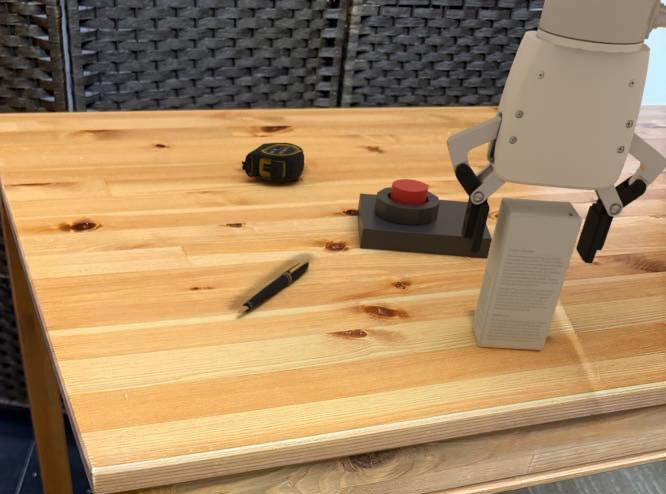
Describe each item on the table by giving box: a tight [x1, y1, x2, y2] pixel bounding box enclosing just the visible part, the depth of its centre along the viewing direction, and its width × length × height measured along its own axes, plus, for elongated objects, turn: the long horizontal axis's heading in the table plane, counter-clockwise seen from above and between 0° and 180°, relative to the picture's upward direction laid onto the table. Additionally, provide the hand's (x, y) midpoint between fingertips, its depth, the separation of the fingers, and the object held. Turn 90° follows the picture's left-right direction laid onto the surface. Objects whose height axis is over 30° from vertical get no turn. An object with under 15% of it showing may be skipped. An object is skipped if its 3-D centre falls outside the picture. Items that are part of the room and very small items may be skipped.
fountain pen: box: [237, 259, 310, 314], centre depth 80 cm, size 14×1×2 cm, turn 150°
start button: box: [390, 178, 429, 205], centre depth 90 cm, size 4×4×2 cm
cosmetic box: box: [471, 197, 583, 351], centre depth 71 cm, size 6×4×12 cm
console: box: [357, 186, 493, 259], centre depth 92 cm, size 14×11×4 cm
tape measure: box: [241, 142, 305, 183], centre depth 103 cm, size 7×7×4 cm
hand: (527, 251), depth 70 cm, fingers open, 9 cm apart
